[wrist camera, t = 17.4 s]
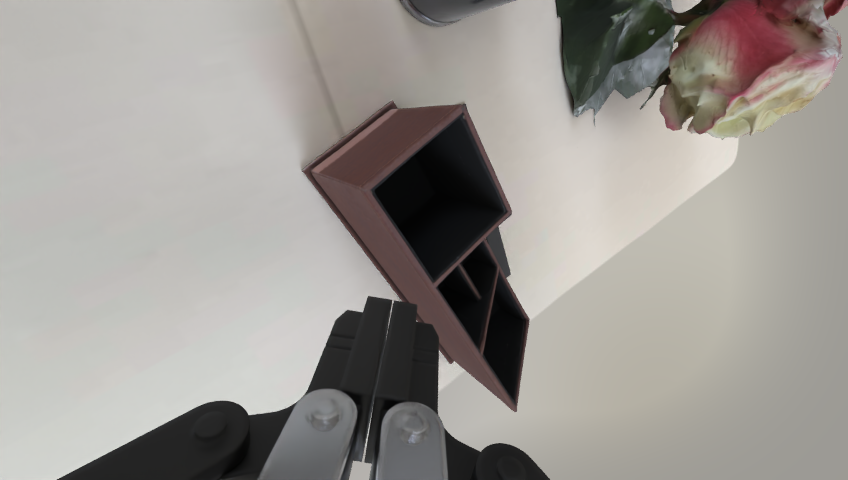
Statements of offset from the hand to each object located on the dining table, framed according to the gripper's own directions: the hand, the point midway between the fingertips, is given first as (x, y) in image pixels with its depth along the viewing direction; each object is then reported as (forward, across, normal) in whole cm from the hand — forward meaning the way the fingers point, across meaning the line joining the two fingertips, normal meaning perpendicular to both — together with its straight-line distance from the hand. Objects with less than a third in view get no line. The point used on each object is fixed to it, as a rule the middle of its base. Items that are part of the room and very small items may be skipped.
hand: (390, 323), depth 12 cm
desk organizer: (+28, +2, -12) cm, 30 cm away
